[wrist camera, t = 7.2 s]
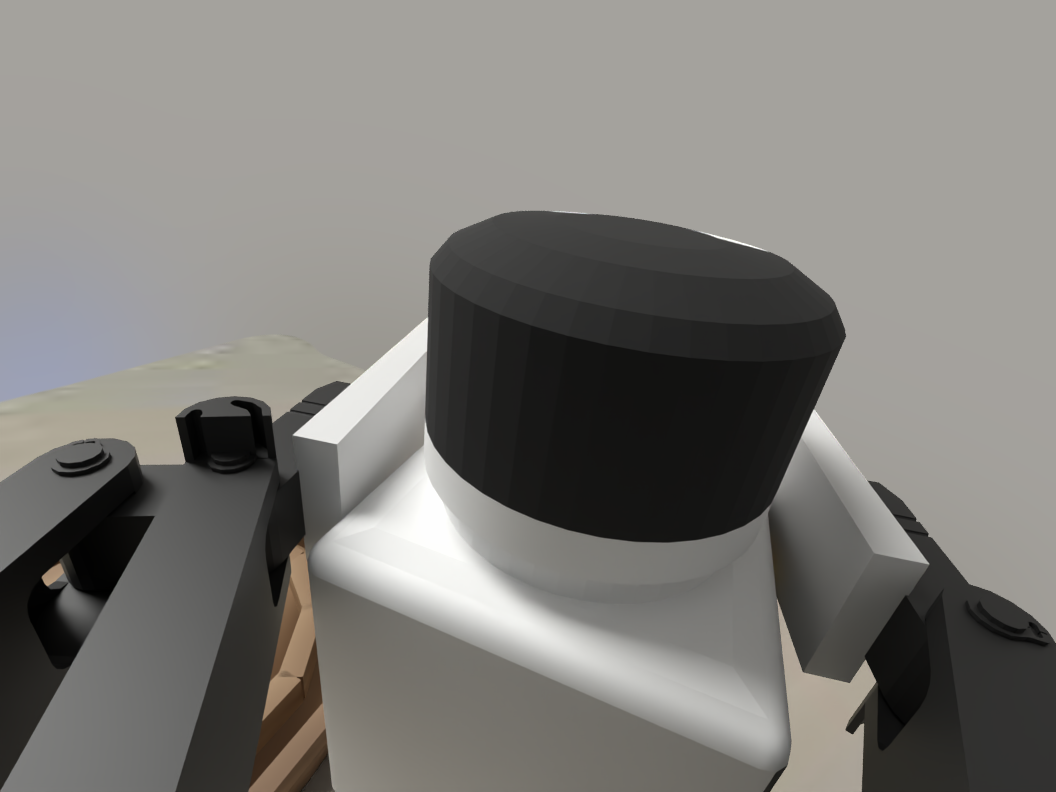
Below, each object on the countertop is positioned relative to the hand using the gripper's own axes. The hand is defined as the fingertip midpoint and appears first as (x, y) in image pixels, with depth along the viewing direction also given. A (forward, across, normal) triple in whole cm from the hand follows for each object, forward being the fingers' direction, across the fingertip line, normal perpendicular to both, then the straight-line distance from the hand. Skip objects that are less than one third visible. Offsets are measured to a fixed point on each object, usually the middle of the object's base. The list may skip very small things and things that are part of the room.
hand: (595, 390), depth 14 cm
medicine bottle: (-5, 0, -7) cm, 9 cm away
